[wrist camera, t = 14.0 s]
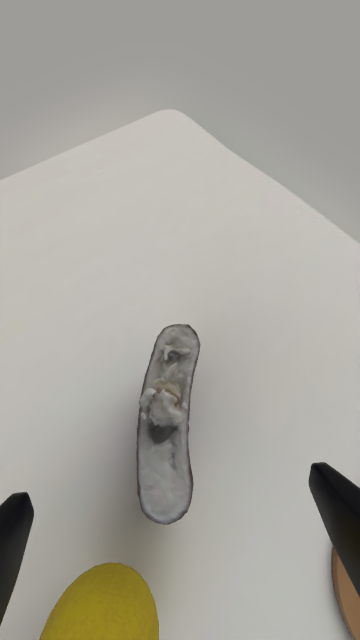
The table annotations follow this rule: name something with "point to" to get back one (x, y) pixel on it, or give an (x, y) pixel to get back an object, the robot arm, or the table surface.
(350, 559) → the robot arm
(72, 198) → the table surface
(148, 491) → the flask
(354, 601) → the wooden coaster
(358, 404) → the table surface
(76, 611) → the lemon
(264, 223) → the table surface
